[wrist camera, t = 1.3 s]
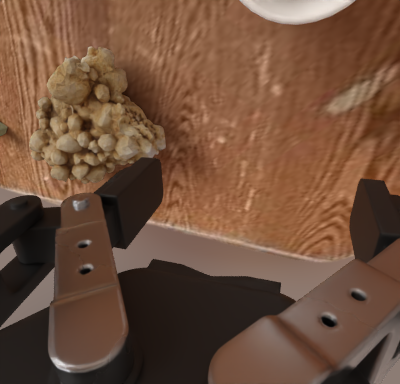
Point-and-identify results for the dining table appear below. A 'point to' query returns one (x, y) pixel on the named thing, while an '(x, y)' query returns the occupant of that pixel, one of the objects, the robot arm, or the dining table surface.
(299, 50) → the dining table surface
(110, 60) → the mineral formation
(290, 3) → the cup
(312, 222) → the dining table surface
